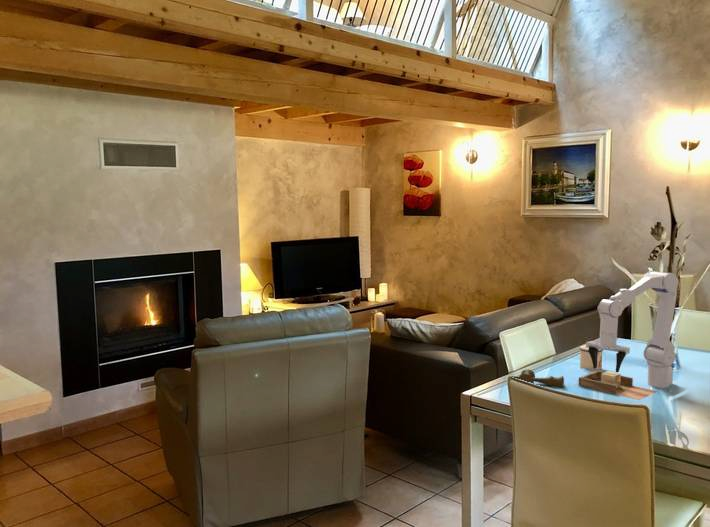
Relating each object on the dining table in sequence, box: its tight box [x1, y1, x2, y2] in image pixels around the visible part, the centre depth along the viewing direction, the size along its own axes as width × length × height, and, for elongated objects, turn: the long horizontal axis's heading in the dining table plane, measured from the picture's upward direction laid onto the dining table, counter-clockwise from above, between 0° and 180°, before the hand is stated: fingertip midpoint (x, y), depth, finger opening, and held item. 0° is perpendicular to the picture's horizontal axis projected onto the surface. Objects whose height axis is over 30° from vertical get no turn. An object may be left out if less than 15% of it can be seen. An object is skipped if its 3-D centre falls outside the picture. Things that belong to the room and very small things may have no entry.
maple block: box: [601, 370, 622, 388], centre depth 221 cm, size 5×5×5 cm
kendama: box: [510, 368, 565, 389], centre depth 227 cm, size 6×10×20 cm
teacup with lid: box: [579, 340, 604, 370], centre depth 250 cm, size 12×9×12 cm
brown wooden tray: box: [578, 370, 658, 401], centre depth 219 cm, size 14×23×4 cm, turn 40°
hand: (606, 369), depth 213 cm, fingers open, 7 cm apart
